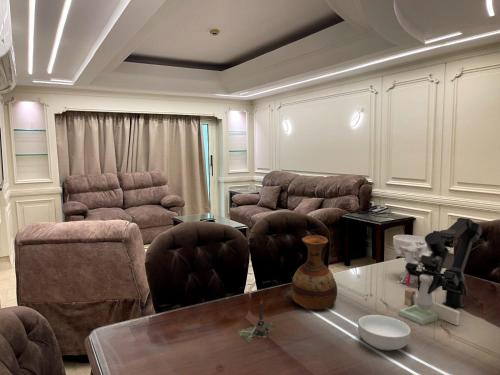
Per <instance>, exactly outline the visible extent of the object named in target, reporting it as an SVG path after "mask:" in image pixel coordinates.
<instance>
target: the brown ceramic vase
mask: <svg viewBox="0 0 500 375" xmlns="http://www.w3.org/2000/svg"><path fill="white" fill-rule="evenodd" d="M301 241H302V242H303V243H304V245H305V246H306V247H307V260H306V261H305V263H302V265H300V266H299V267H298V268H297V270H296V271H295V273H294V275H293V277H292V279H291V283H290V284H291V285H290V295H291V298H292V300H293V301H294V302H295V303H296V304H297V305H300V306H301V307H303V308H306V309H311V310H321V309H327V308H330V307H331V306H333V305H334V303H336V301H337V297H338V286H337V282H336V280H335V278H334V274H333V273H332V272H331V270H330V268H329V267H328V266H327V265H325V258H326V257H325V256H326V253H327V252H326V250H327V243H328V242H329V239H328V238H327V237H326V236H322V235H316V234H315V235H307V236H305V237H302V238H301Z"/></svg>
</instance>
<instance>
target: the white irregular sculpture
mask: <svg viewBox="0 0 500 375" xmlns="http://www.w3.org/2000/svg"><path fill="white" fill-rule="evenodd" d="M392 243H393V248H394V250H395V252H396V253H397V254H398V257H400V258H404V259H403V261H404V262H405V265H406V264H407V263H409V262H410V263H414V264H417V265H418V266H419V267H420V268H423V269H424V267H423V266H422V265H423V264H422V263H420V260H421V256H422V255H425V256H430V255H431V253H432V251H431V250H430V249H429V247H428V245H427V244H426V242H425V237H424V236H421V235H420V236H419V235H411V234H396V235H394V236H393V239H392ZM396 283H397V284H405V286H408V287H410V285H414V284H415V283H416V284H417V285H418V277H417V276H413V275H410V274H409V273H408V271H407V269H406V268H405V269H404V271H402V274H401V275H400V280H397V282H396Z"/></svg>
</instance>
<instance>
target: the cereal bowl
mask: <svg viewBox="0 0 500 375" xmlns="http://www.w3.org/2000/svg"><path fill="white" fill-rule="evenodd" d="M357 328H358V333H359V335H360V337H361V338H362V340H363V341H365V342H366V343H367V344H368V345H370V346H372V347H373V348H376V349H378V350H381V351H394V350H400V349H402V348H404V347H406V346H408V345H407V344H408V343H409V342H410V339H411V334H412V333H411V327H410V326H409V325H407V323H406V322H403V321H402V320H399V319H397V318H394V317H392V316H391V317H390V316H387V315H381V314H369V315H363V316H362V317H359V319H358V322H357Z"/></svg>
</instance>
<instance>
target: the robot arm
mask: <svg viewBox="0 0 500 375" xmlns="http://www.w3.org/2000/svg"><path fill="white" fill-rule="evenodd" d="M482 233H483V228H482V226H481V225H480V224H479V223H477V222H475V221H473V220H472V219H470V218H467V217H459V218H458V217H457V219H456V221H455V222H454V223H453V224H452V225H451V226H450V227H448V228H447V229H441V230H433V231H432V232H430V233H427V234H426V235H424V236H425V242H426V244H427V245H428V247H429V249H430V250H431V251H432V253H431V255H430V256H425V255H422V256H421V260H420V264H422V266H423V268H422V266H421V268H420V265H417V264H414V263H410V262H409V263H407V264H406V263H405V267H404V268H405V269H407V271H408V273H409V274H410V275H413V276H416V277H417V279H418V284H417V291H418V292H419V289H420V284H421V281H420V275H422V274H426V275H430V276H431V277H433V278H432V281H431V282H430V287H429V289H428V292H427V293H428V294H430V293H431V294H433V292H434V291H436V290H437V289H439V288H441V290H442V291H446V292H445V301H444V302H442V304H441V305H443V306H446V307H448V308H451V309H454V310H457V309H461V308H465V307H466V305H465V304H463V302H462V300H463V296H467V295H468V286H467V284H466V278H465V276H464V271H465V269H466V268H465V267H466V264H467V262H468V258H469V256H470V253H471V250H472V246H473V244H475V243H476V242H478V241H479V239H480V237H481V235H483V234H482ZM459 237H460V241H459V240H458V238H459ZM458 242H459V244H458ZM457 244H458V247H457V250H456V253H455V255H454V259H453V263H451V267H450V268H446V269H445V267H446V265H445V263H446V260H447V258H449V257H450V250H449V249H448V248H451V249H454V248H455V246H456V245H457ZM443 269H445V270H444V271H443V273H442V270H443Z"/></svg>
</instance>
